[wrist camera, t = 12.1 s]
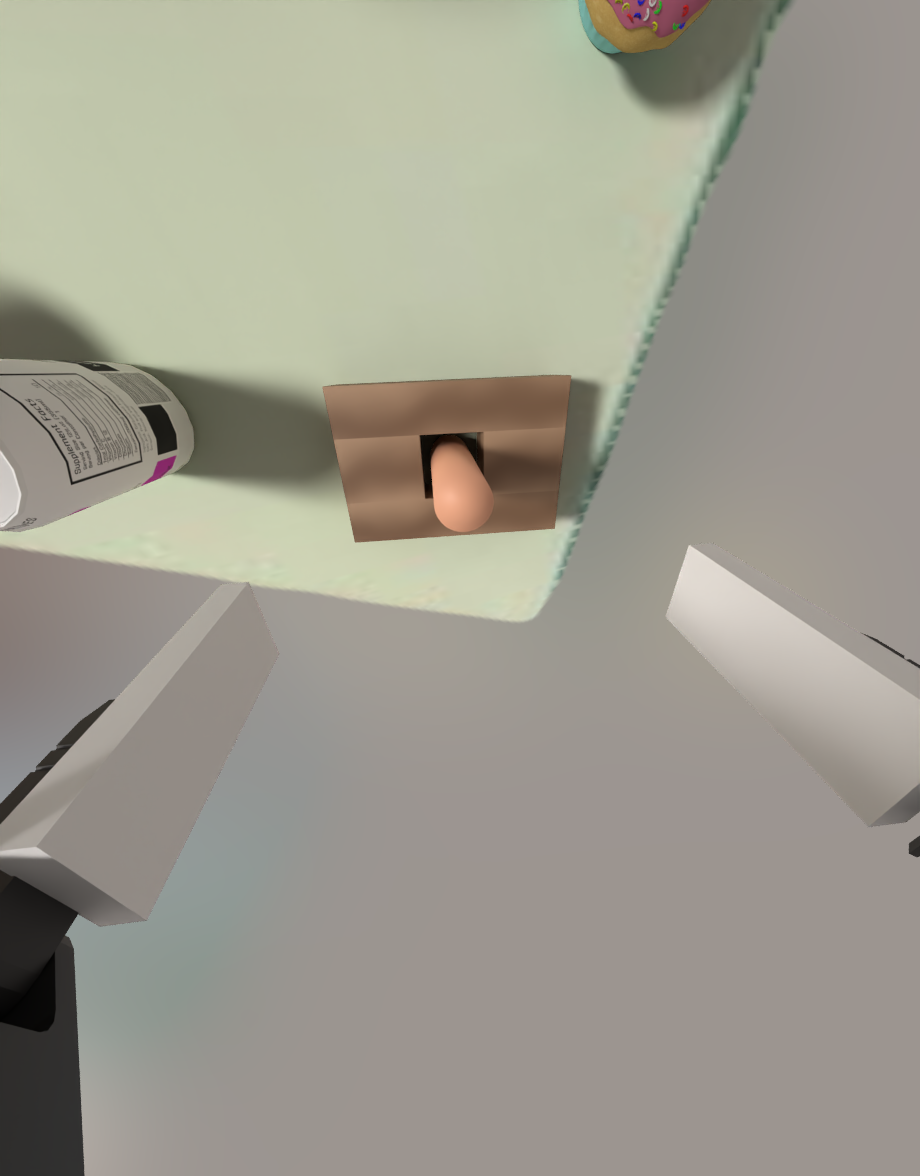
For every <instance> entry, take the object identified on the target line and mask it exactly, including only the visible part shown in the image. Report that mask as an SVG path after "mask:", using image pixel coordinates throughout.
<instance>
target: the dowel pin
mask: <svg viewBox="0 0 920 1176" xmlns="http://www.w3.org/2000/svg"><path fill="white" fill-rule="evenodd" d="M430 460H431V473H432V485H433V498H434V509H435V513H436V515H437V517H438V519H439V520H440V522H441V523H442V524H443V525H444V526H446V527H447V528H449V529H451V530H453V531H457V532H469V531H473V530H475V529H477V528H479V527H481V526H482V525H483V524H484V523H485V522H486V521H487V520H488V519H489V517H490V515H491V513H492V510H493V506H494V498H493V493H492V490H491V488H490V487H489V485H488V483H487V481H486V480H485V478H484V476H483V474H482V472H481V471H480V469H479V467H478V465H477V464H476V462H475V460H474V458H473V457H472V455H471V453H470V451H469V450H468V448H467V446H466V444H465V443H464V442H463V440H462V439H460V438H459V437H457V436H454V435H444V436H441V437H440V438H438V439H437V440H436V441H435V442H434V443H433V445H432V448H431V451H430Z"/></svg>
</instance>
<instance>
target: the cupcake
mask: <svg viewBox="0 0 920 1176" xmlns="http://www.w3.org/2000/svg"><path fill="white" fill-rule="evenodd" d="M710 1H711V0H579V10H580V16H581V20H582V24H583V27H584V29H585V32H586V34H587V36H588V38H589V39H590V41H591V42H592V43H593V44H594V45H595V46H596V47H597V48H598V49H599V50H601V51H603V52H606V53H619V52H625V53H637V52H644V51H648V50H652V49H663V48H666V47H667V46H669V45H670V44H671V43H673V42H674V41H675V40H676V39H677V38H678V37H679V36H680V35H681V34H682V33H683V32H684V31H685V30H686V29H687V28H688V27H689V26H690V25H691V24H692V23H693V22H694V21H695V20H696V19H697V18H698V17H699V16H700V15H701V14H702V13H703V11H704V10H705V9H706V7H707V6H708V5H709V3H710Z"/></svg>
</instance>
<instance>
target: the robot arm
mask: <svg viewBox="0 0 920 1176" xmlns="http://www.w3.org/2000/svg"><path fill="white" fill-rule="evenodd" d="M666 618H667V619H668V620H669V621H670V622H671V623H672V624H673V625H674V626H675V627H676V628H677V629H678V630H679V631H680V633H681V634H682V635H683V636H684V637H685V638H686V639H687V640H688V641H689V642H690V643H691V644H692V645H693V646H694V647H695V648H696V649H697V650H698V651H699V652H700V653H701V654H702V655H703V656H704V657H705V658H706V660H707V661H708V662H709V663H710V664H711V665H712V666H713V667H714V668H715V669H716V670H717V671H718V672H719V673H720V674H721V675H722V676H723V677H724V678H725V679H726V680H727V681H728V682H729V683H730V684H731V685H732V686H733V687H734V688H735V689H736V691H738V693H739V694H741V696H742V697H743V698H744V699H745V700H746V701H747V702H748V703H749V704H750V705H751V706H752V707H753V708H754V709H755V710H756V711H757V712H758V713H759V714H760V715H761V716H762V717H763V718H764V719H765V720H766V721H767V722H768V724H769V725H770V726H771V727H772V728H773V729H774V730H775V731H776V732H777V733H778V734H779V735H780V736H781V737H782V738H783V739H784V740H785V741H786V742H787V743H788V744H789V745H790V746H791V747H792V748H793V749H794V751H795V752H797V754H798V755H799V756H800V757H801V758H802V759H803V760H804V761H806V763H807V764H808V765H809V766H810V767H811V768H812V769H813V770H814V771H815V772H816V773H817V774H818V775H819V776H820V777H821V778H822V779H823V781H825V783H826V784H827V785H828V786H829V787H830V788H831V789H832V790H833V791H834V792H835V793H836V794H837V795H838V796H839V797H840V798H841V799H842V800H843V801H844V802H845V803H846V804H847V805H848V806H849V807H850V808H851V809H852V811H854V812H855V813H856V815H857V816H858V817H859V818H860V819H861V820H862V821H863V822H864V823H865V824H866V825H867V826H868V827H873V826H880V825H888V824H896V823H903V822H907V821H908V820H910V819H911V818H912V817H913V816H914V815H916V814H917V813H918V812H919V811H920V665H918V664H917V663H915V662H913V661H912V660H910V659H909V660H906V659H905V658H904V656H903V655H902V654H900V653H898V652H897V651H895V650H894V649H892V648H890V647H889V646H887V645H885V644H883V643H882V642H880V641H879V640H877V639H875V638H872V637H870V636H868V635H865V634H863V633H861V632H859V631H857V630H856V629H854V628H852V627H851V626H849V625H847V624H846V623H844V622H842V621H841V620H839V619H837V618H836V617H834V616H833V615H831V614H829V613H828V612H826V611H824V610H823V609H821V608H819V607H818V606H816V605H814V604H813V603H811V602H809V601H808V600H806V599H805V598H803V597H801V596H800V595H798V594H796V593H795V592H793V591H791V590H790V589H788V588H787V587H785V586H783V585H782V584H780V583H778V582H777V581H775V580H773V579H772V578H770V577H768V576H767V575H765V574H764V573H762V572H760V571H759V570H757V569H755V568H754V567H752V566H750V565H749V564H747V563H746V562H744V561H742V560H740V559H739V558H737V557H736V556H734V555H732V554H731V553H729V552H727V551H726V550H724V549H722V548H721V547H719V546H717V545H716V544H714V543H706V544H694V545H689V547H688V550H687V553H686V556H685V559H684V562H683V565H682V568H681V571H680V574H679V577H678V581H677V584H676V587H675V590H674V593H673V596H672V599H671V602H670V605H669V608H668V611H667V614H666ZM278 655H279V652H278V649H277V647H276V645H275V642H274V640H273V638H272V635H271V633H270V631H269V629H268V626H267V624H266V621H265V619H264V617H263V614H262V612H261V610H260V607H259V605H258V603H257V600H256V598H255V596H254V593H253V591H252V589H251V586H250V584H249V582H244V583H232V584H221V585H220V586H219V587H218V588H217V590H216V591H215V592H214V593H213V594H212V595H211V596H210V597H209V598H208V600H207V601H206V602H205V603H204V604H203V605H202V606H201V607H200V608H199V609H198V610H197V611H196V612H195V613H194V615H193V616H192V617H191V618H190V619H189V620H188V621H187V622H186V623H185V625H183V627H182V628H181V629H180V630H179V631H178V632H177V633H176V634H175V635H174V636H173V638H171V640H170V641H169V642H168V643H167V644H166V645H165V646H164V647H163V648H162V649H161V650H160V652H159V653H158V654H157V655H156V656H155V657H154V658H153V659H152V660H151V661H150V663H148V665H147V666H146V667H145V668H144V669H143V670H142V671H141V672H140V673H139V674H138V675H137V677H136V678H135V679H134V680H133V681H132V682H131V683H130V684H129V685H128V686H127V687H126V688H125V690H124V691H123V692H122V693H121V694H120V695H119V696H118V697H117V698H116V699H114V700H109V701H107V702H106V703H105V704H103V705H102V706H101V707H99V708H98V709H96V710H95V711H93V712H92V713H91V714H89V715H88V716H87V717H85V718H84V719H82V720H81V721H80V722H79V723H78V724H77V725H76V726H75V727H74V728H73V729H72V730H71V731H70V732H69V733H68V734H67V735H66V736H65V737H64V738H63V739H62V740H61V741H60V743H59V744H58V745H57V749H56V750H54V751H51V752H50V753H49V754H48V755H47V756H46V757H45V758H44V759H43V760H42V761H41V762H40V763H39V764H38V765H37V766H36V771H35V772H31V773H30V774H29V775H28V776H27V777H26V778H25V779H24V780H23V781H22V782H21V783H20V784H19V785H18V786H17V787H16V788H15V789H14V790H13V791H12V792H11V794H9V795H8V797H6V798H5V800H4V801H3V802H2V803H1V804H0V1176H84V1159H83V1158H84V1156H83V1135H82V1116H81V1115H82V1114H81V1093H80V1071H79V1052H78V1051H79V1050H78V1031H77V1030H78V1029H77V1008H76V988H75V966H74V948H73V946H72V943H71V941H70V938H69V937H67V936H65V934H66V933H67V931H68V929H69V928H70V926H71V925H72V923H73V921H74V920H75V918H76V917H77V915H78V914H79V915H81V916H82V917H84V918H86V919H88V920H89V921H91V922H93V923H94V924H96V925H98V926H107V925H116V924H124V923H131V922H139V921H146V920H147V919H148V917H149V915H150V913H151V911H152V909H153V907H154V905H155V903H156V901H157V899H158V897H159V894H160V893H161V891H162V889H163V887H164V885H165V883H166V881H167V879H168V877H169V875H170V873H171V871H172V869H173V867H174V865H175V863H176V861H177V859H178V857H179V855H180V853H181V851H182V849H183V847H184V845H185V843H186V840H187V838H188V837H189V835H190V832H191V831H192V829H193V827H194V825H195V823H196V820H197V818H198V816H199V814H200V812H201V810H202V808H203V806H204V804H205V802H206V800H207V798H208V796H209V794H210V792H211V790H212V788H213V786H214V784H215V782H216V780H217V778H218V776H219V774H220V772H221V770H222V768H223V766H224V764H225V762H226V760H227V758H228V756H229V754H230V752H231V750H232V748H233V746H234V744H235V742H236V740H237V738H238V736H239V734H240V732H241V730H242V728H243V726H244V724H245V722H246V720H247V718H248V716H249V714H250V712H251V710H252V708H253V706H254V704H255V702H256V700H257V698H258V696H259V694H260V692H261V690H262V688H263V685H264V684H265V682H266V680H267V677H268V676H269V674H270V672H271V669H272V668H273V666H274V664H275V662H276V660H277V657H278ZM909 854H911V855H913V856H915V857H919V856H920V836H919V837H917V838H916V839H914V840H913V841H912V842H910V843H909Z"/></svg>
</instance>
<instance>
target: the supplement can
mask: <svg viewBox="0 0 920 1176" xmlns="http://www.w3.org/2000/svg"><path fill="white" fill-rule="evenodd" d="M193 450H194V431H193V427H192V425H191V422H190V420H189V417H188V415H187V412H186V410H185V409H184V407H183V406H182V405H181V403H180V402H179V401H178V399H177V398H176V397H175V395H174V394H173V393H172V391H171V390H169V389H168V388H167V387H166V386H164V385H163V384H162V383H161V382H160V381H158V380H157V379H156V378H155V377H153V376H152V375H150V374H148V373H146V372H144V371H142V370H140V369H138V368H135V367H133V366H131V365H127V364H120V363H113V362H94V361H57V360H21V359H0V531H13V532H21V531H25V530H29V529H33V528H37V527H41V526H44V525H47V524H49V523H52V522H54V521H57V520H59V519H61V518H64V517H66V516H69V515H71V514H74V513H76V512H79V511H81V510H84V509H86V508H88V507H91V506H93V505H96V504H98V503H101V502H103V501H106V500H108V499H110V498H113V497H115V496H118V495H120V494H123V493H125V492H128V491H130V490H132V489H135V488H137V487H140V486H142V485H145V484H147V483H150V482H152V481H154V480H157V479H159V478H162V477H164V476H167V475H169V474H172V473H174V472H177V471H178V470H179V469H181V468H182V467H183V466H184V465H185V464H186V463H188V462H189V460H190V457H191V455H192V452H193Z"/></svg>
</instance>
